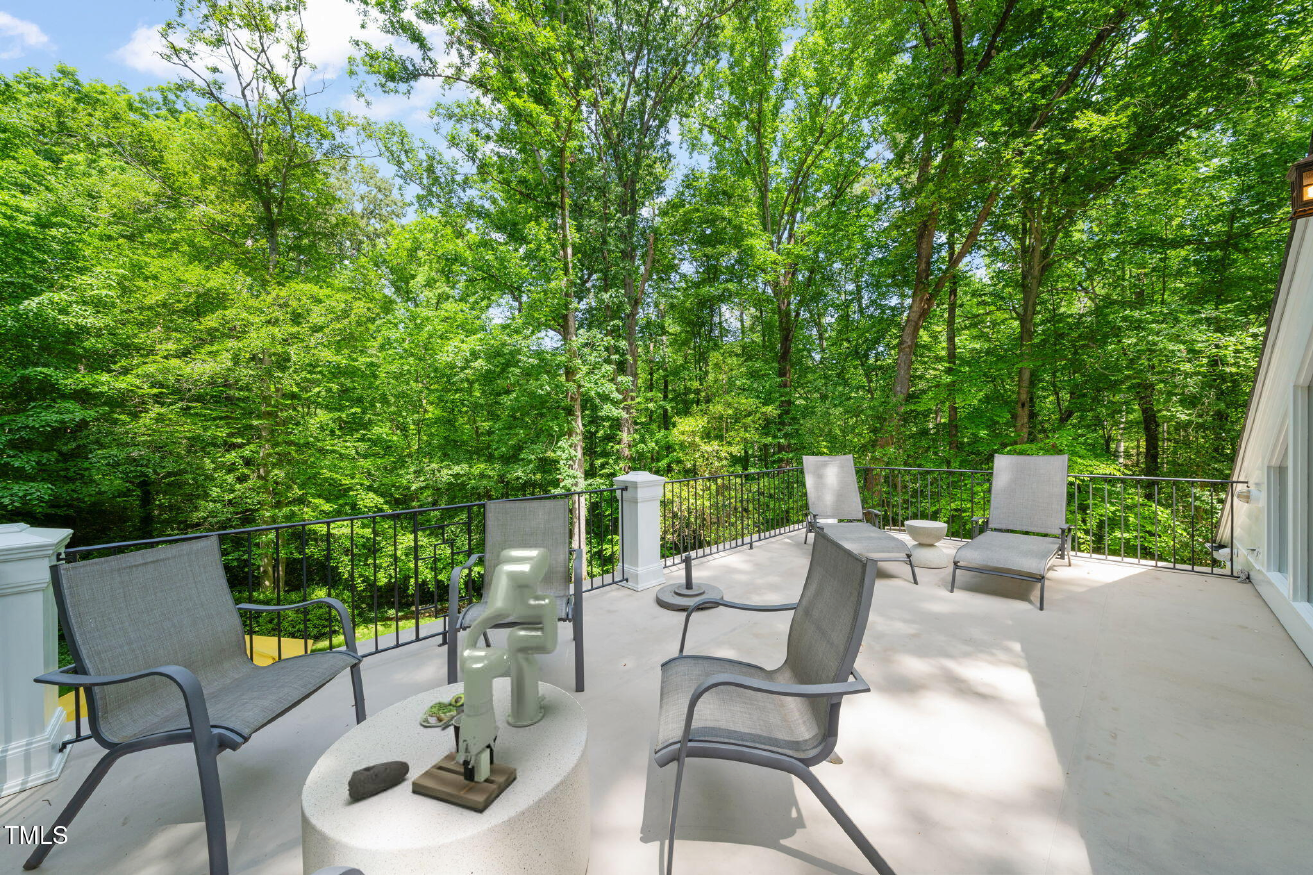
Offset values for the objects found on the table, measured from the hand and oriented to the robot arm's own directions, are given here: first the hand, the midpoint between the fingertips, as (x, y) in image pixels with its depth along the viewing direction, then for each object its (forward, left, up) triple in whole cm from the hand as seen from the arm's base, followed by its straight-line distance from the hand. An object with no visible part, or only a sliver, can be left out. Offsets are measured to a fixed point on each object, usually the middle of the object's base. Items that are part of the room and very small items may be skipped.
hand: (479, 771), depth 130 cm
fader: (0, 0, -3) cm, 3 cm away
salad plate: (-29, -40, -5) cm, 49 cm away
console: (0, -5, -5) cm, 7 cm away
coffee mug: (-14, -15, -5) cm, 21 cm away
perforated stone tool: (+9, -27, -5) cm, 29 cm away
